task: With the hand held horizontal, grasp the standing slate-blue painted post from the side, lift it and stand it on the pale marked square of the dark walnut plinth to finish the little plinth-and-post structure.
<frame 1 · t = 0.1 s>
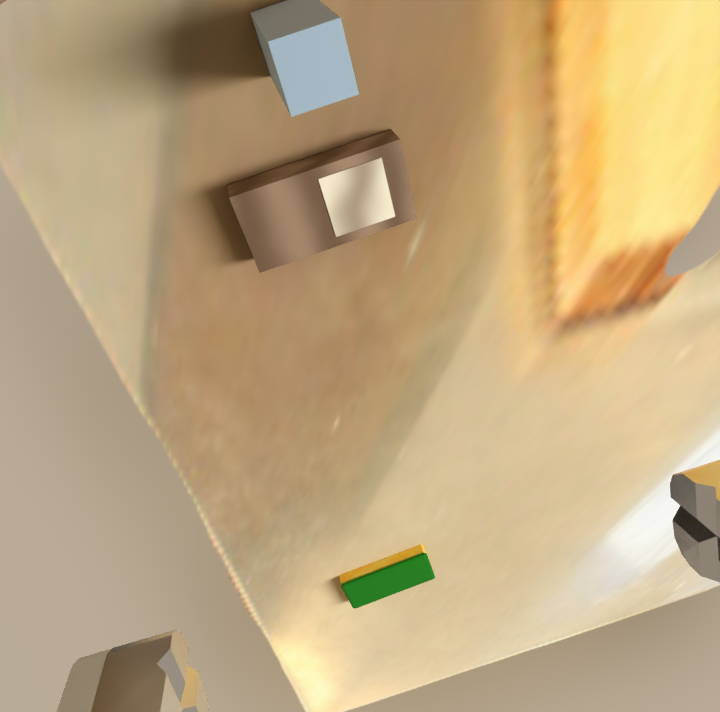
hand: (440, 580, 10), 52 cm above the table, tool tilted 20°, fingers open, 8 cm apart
post: (289, 35, 52), on the table
dish sponge: (385, 568, 101), on the table
plinth: (321, 196, 61), on the table
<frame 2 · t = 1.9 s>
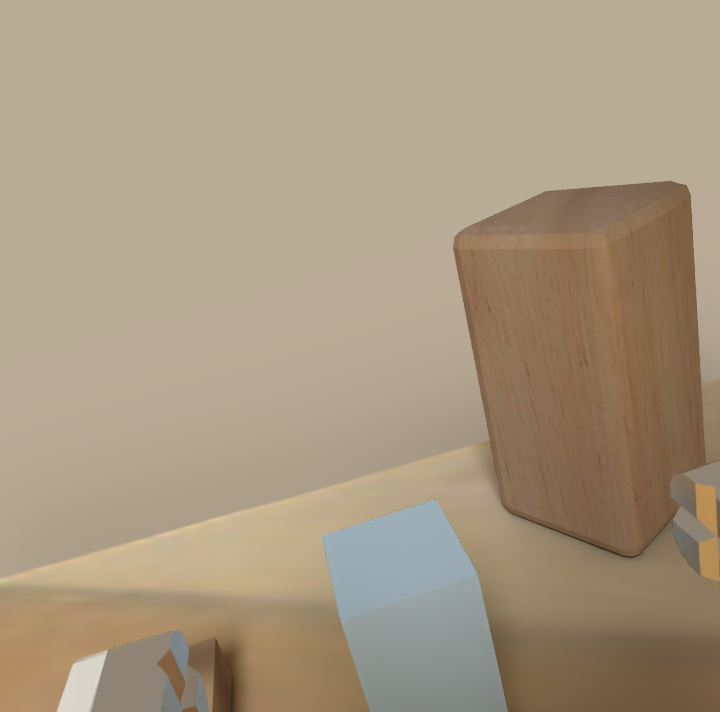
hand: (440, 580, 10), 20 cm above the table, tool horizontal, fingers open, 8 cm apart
block: (603, 500, 43), on the table
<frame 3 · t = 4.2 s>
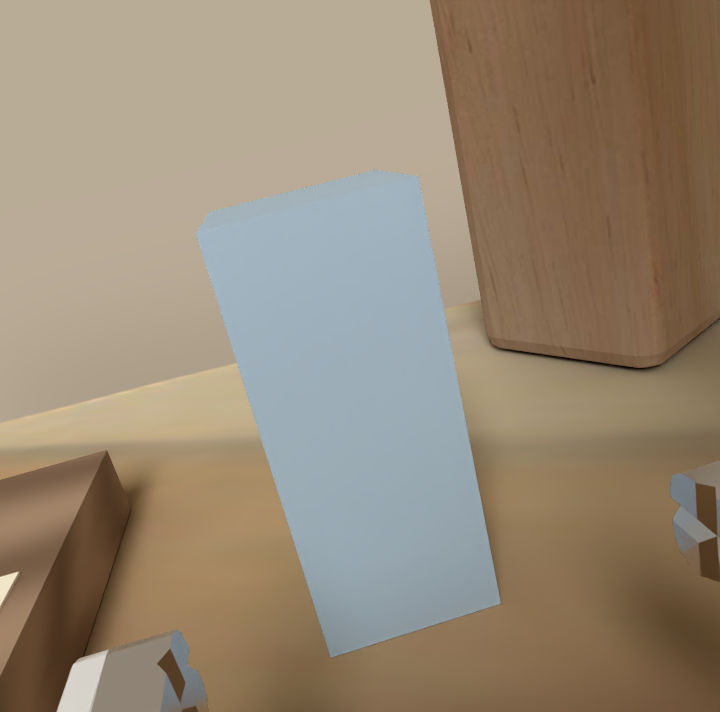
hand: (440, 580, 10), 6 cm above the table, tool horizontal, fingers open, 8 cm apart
post: (397, 574, 20), on the table
block: (612, 332, 35), on the table
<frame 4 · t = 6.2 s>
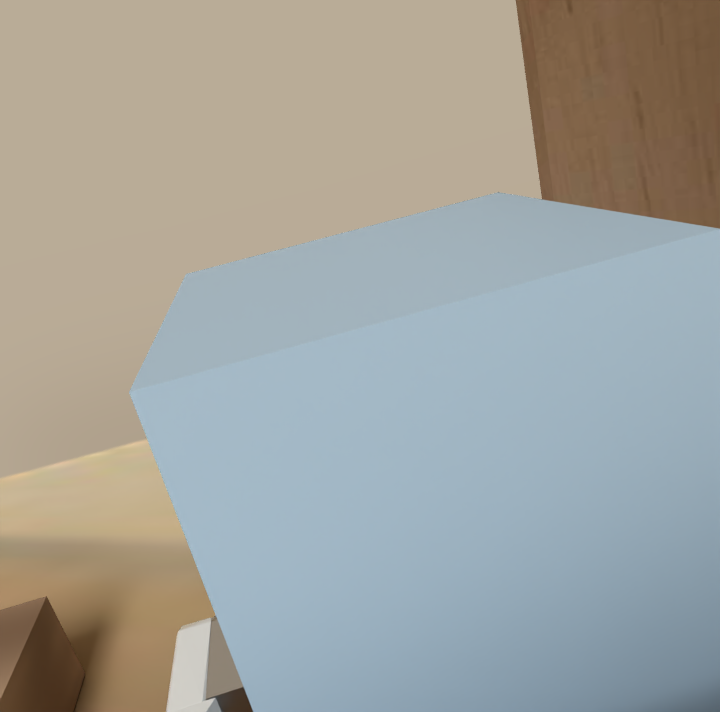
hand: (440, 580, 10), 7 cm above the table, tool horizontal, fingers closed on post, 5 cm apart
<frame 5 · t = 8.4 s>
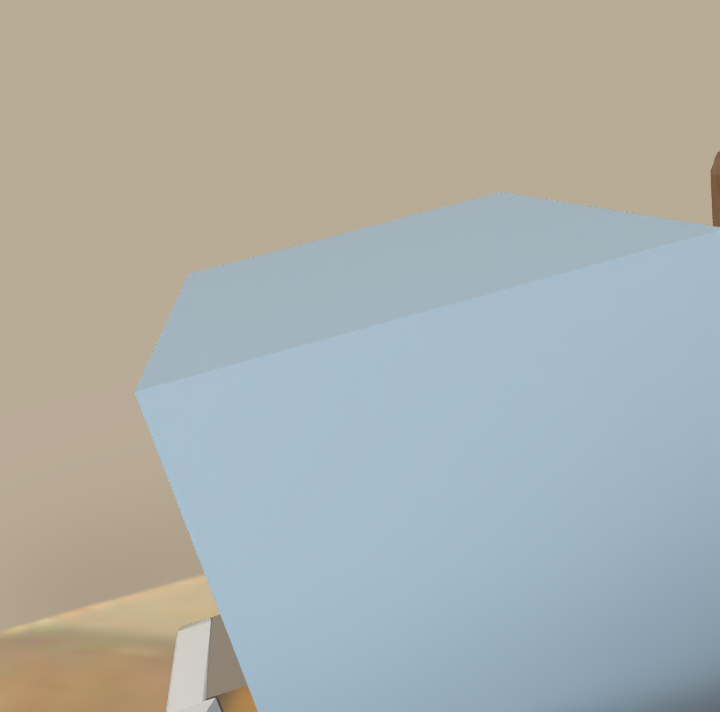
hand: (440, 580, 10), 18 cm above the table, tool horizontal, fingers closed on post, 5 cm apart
when the fingers open (11 cm above the table, at t = 10.7 s): post drops 1 cm, resting on plinth.
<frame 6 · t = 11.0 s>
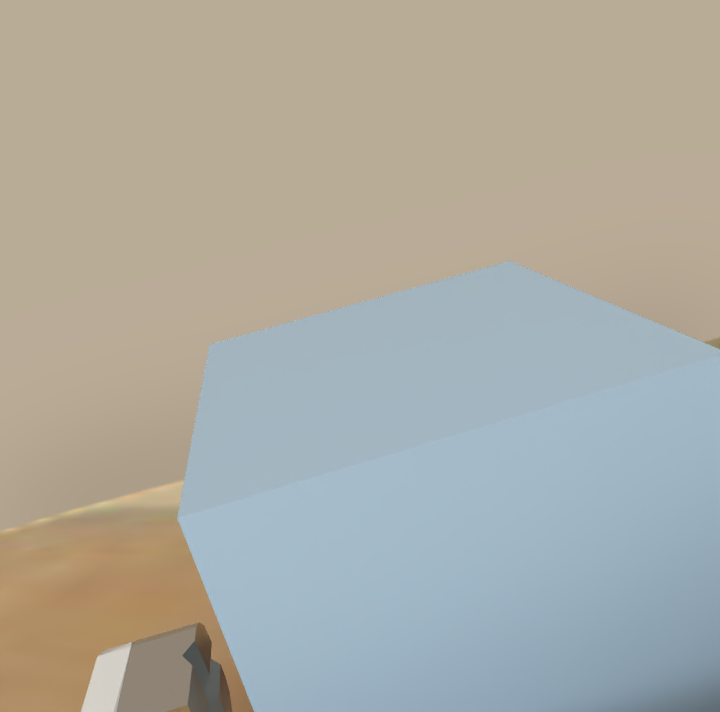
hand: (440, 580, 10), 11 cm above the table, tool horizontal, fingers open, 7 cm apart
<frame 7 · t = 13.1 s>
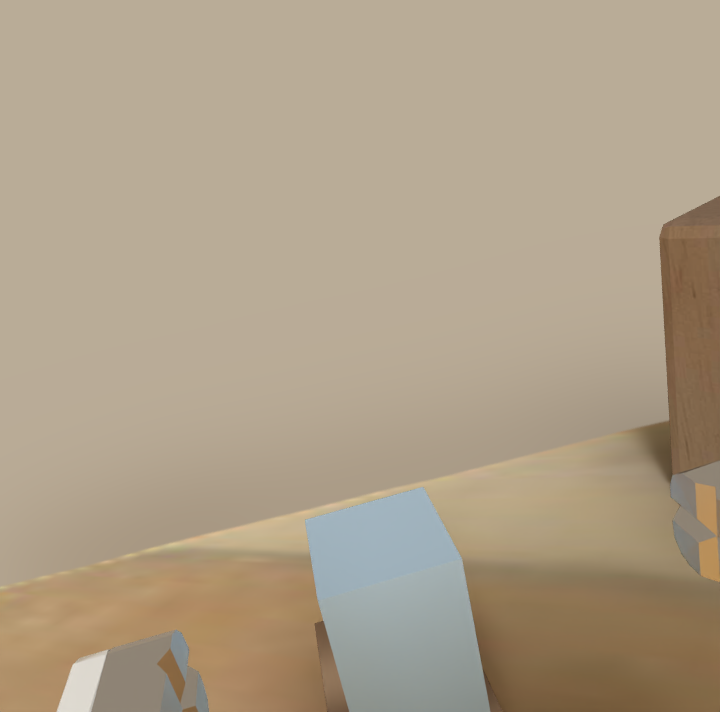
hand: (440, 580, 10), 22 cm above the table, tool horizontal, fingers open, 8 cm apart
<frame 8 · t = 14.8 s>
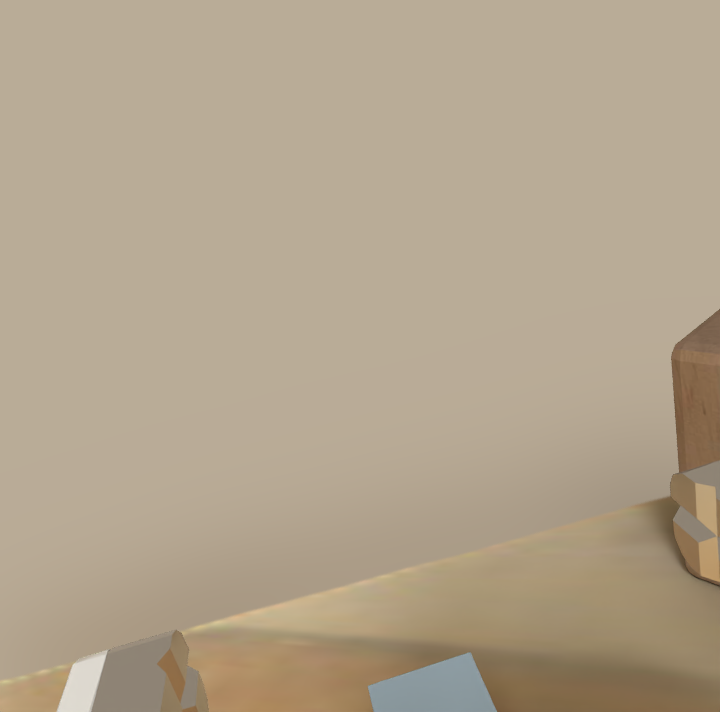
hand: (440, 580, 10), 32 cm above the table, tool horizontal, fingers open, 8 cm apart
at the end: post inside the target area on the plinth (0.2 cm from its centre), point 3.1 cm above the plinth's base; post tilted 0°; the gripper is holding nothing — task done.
